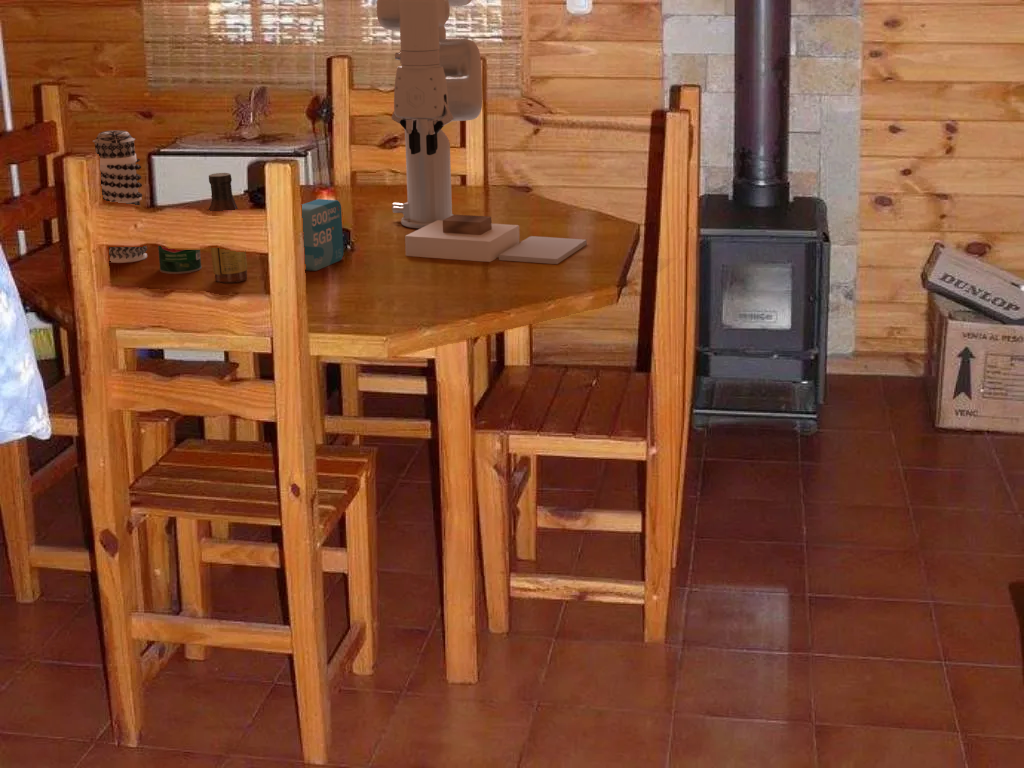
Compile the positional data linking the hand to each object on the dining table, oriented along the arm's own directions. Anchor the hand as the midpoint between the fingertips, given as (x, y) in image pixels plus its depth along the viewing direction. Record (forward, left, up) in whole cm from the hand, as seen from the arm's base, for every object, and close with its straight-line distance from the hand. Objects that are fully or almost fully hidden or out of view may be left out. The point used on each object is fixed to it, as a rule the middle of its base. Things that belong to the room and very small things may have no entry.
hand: (423, 152), depth 294 cm
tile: (+9, 0, -15) cm, 18 cm away
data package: (-14, -20, -19) cm, 31 cm away
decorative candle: (-54, -26, -19) cm, 63 cm away
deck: (+8, 0, -19) cm, 21 cm away
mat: (+24, +3, -19) cm, 31 cm away
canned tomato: (-38, -31, -19) cm, 53 cm away
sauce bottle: (-24, -36, -19) cm, 47 cm away
